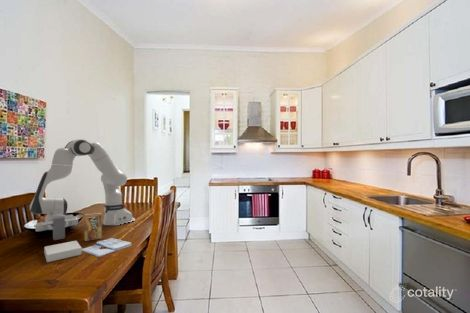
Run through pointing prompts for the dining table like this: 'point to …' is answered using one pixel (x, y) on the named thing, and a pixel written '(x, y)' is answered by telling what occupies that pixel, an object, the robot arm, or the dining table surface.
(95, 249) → the folded bicycle print cloth
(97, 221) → the candy box
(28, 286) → the dining table surface
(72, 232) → the dining table surface
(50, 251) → the white block
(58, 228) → the tall block
